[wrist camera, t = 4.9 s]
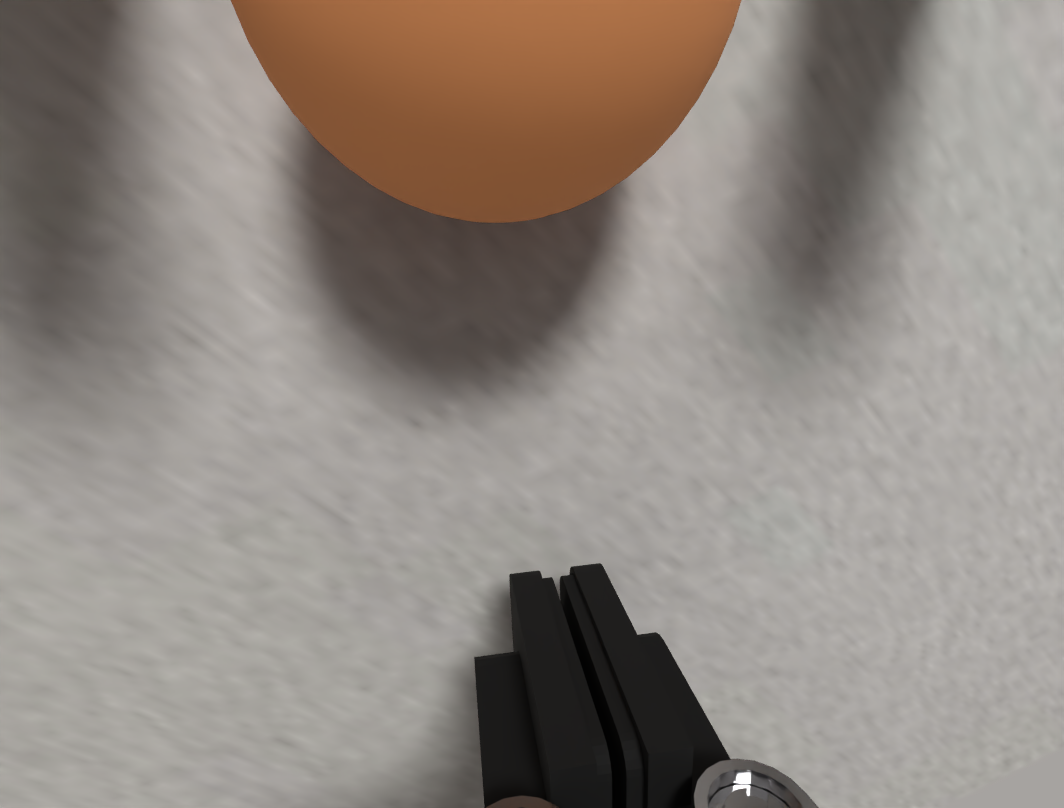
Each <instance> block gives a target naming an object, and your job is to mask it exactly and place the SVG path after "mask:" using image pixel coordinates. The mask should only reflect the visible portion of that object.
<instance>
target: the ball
mask: <svg viewBox="0 0 1064 808" xmlns="http://www.w3.org/2000/svg"><path fill="white" fill-rule="evenodd" d="M231 2H232V4H233V7H234V9H235V11H236V14H237V16H238V18H239V21H240V23H241V25H242V28H243V30H244V32H245V35H246V37H247V40H248V42H249V44H250V45H251V47H252V49H253V51H254V53H255V54H256V56H257V58H258V60H259V62H260V63H261V65H262V67H263V69H264V71H265V72H266V74H267V76H268V78H269V80H270V81H271V82H272V84H273V85H274V87H275V88H276V90H277V91H278V92H279V94H280V95H281V97H282V98H283V100H284V101H285V102H286V104H287V105H288V107H289V108H290V110H291V111H292V112H293V114H294V115H295V116H296V117H297V118H298V119H299V120H300V122H301V123H302V124H303V125H304V126H305V127H306V128H307V130H308V131H309V132H310V133H311V134H312V135H313V136H314V138H315V139H316V140H317V141H318V142H319V143H320V144H321V145H322V146H324V147H325V148H326V149H327V150H328V151H329V152H330V153H331V154H332V155H333V156H335V157H336V158H337V159H338V160H339V161H340V162H341V163H342V164H343V165H345V166H346V167H347V168H349V169H350V170H351V171H353V172H354V173H356V174H357V175H358V176H360V177H361V178H363V179H364V180H365V181H367V182H368V183H370V184H371V185H372V186H374V187H375V188H377V189H379V190H381V191H383V192H385V193H387V194H388V195H390V196H392V197H394V198H396V199H398V200H400V201H401V202H404V203H406V204H409V205H411V206H414V207H417V208H419V209H422V210H425V211H427V212H430V213H433V214H436V215H440V216H445V217H450V218H455V219H460V220H465V221H471V222H483V223H506V222H519V221H527V220H533V219H538V218H542V217H545V216H549V215H552V214H556V213H559V212H563V211H566V210H569V209H572V208H574V207H576V206H578V205H580V204H582V203H584V202H587V201H589V200H591V199H593V198H595V197H597V196H599V195H601V194H603V193H604V192H606V191H607V190H609V189H610V188H612V187H613V186H615V185H616V184H618V183H619V182H621V181H622V180H624V179H625V178H627V177H628V176H629V175H631V174H632V173H633V172H634V171H635V170H636V169H637V168H639V167H640V166H641V165H642V164H643V163H644V162H646V161H647V160H648V159H649V158H650V157H651V156H652V155H654V154H655V153H656V151H657V150H658V149H659V148H660V147H661V146H662V145H663V144H664V143H665V141H666V140H667V139H668V138H669V137H670V136H671V135H672V134H673V133H674V132H675V130H676V129H677V128H678V127H679V125H680V124H681V122H682V121H683V120H684V118H685V117H686V115H687V114H688V113H689V111H690V110H691V108H692V107H693V106H694V104H695V103H696V101H697V100H698V98H699V97H700V95H701V93H702V91H703V89H704V88H705V86H706V84H707V82H708V80H709V79H710V77H711V75H712V73H713V71H714V70H715V68H716V66H717V64H718V61H719V59H720V57H721V54H722V52H723V50H724V47H725V45H726V43H727V40H728V38H729V35H730V33H731V31H732V28H733V26H734V22H735V19H736V16H737V13H738V9H739V6H740V3H741V0H231Z"/></svg>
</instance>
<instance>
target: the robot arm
mask: <svg viewBox="0 0 1064 808" xmlns="http://www.w3.org/2000/svg"><path fill="white" fill-rule="evenodd" d="M510 597H511V614H512V631H513V648H514V652H510V653H503V654H495V655H488V656H481V657H474V659H475V674H476V689H477V703H478V718H479V732H480V747H481V761H482V776H483V790H484V805H485V808H818V806H817V805H816V804H815V803H814V802H813V800H812V799H811V798H810V797H809V796H808V795H807V793H806V792H805V791H804V790H802V789H801V788H800V787H799V786H798V785H797V784H796V783H795V782H794V781H793V780H792V779H791V778H789V777H788V776H786V775H785V774H783V773H781V772H780V771H778V770H776V769H775V768H773V767H771V766H768V765H765V764H762V763H759V762H757V761H753V760H744V759H730V757H729V756H728V754H727V752H726V750H725V748H724V747H723V745H722V743H721V741H720V740H719V738H718V736H717V734H716V732H715V731H714V729H713V727H712V725H711V724H710V722H709V720H708V718H707V716H706V715H705V713H704V711H703V709H702V708H701V706H700V704H699V702H698V700H697V699H696V697H695V695H694V693H693V692H692V690H691V688H690V686H689V684H688V683H687V681H686V679H685V677H684V676H683V674H682V672H681V670H680V668H679V667H678V665H677V663H676V661H675V660H674V658H673V656H672V654H671V652H670V651H669V649H668V647H667V645H666V644H665V642H664V640H663V639H662V637H661V636H660V635H659V634H658V633H656V632H655V633H648V634H641V635H637V633H636V631H635V629H634V627H633V625H632V623H631V621H630V619H629V617H628V615H627V613H626V611H625V609H624V607H623V605H622V603H621V601H620V599H619V597H618V595H617V593H616V591H615V589H614V587H613V585H612V583H611V581H610V579H609V577H608V575H607V573H606V571H605V569H604V567H603V566H602V564H600V563H599V564H590V565H582V566H574V567H571V568H570V575H567V576H561V577H560V599H559V596H558V593H557V590H556V587H555V584H554V581H553V578H552V577H551V578H543V579H542V576H541V573H540V571H532V572H523V573H515V574H510ZM560 601H561V602H560Z"/></svg>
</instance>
